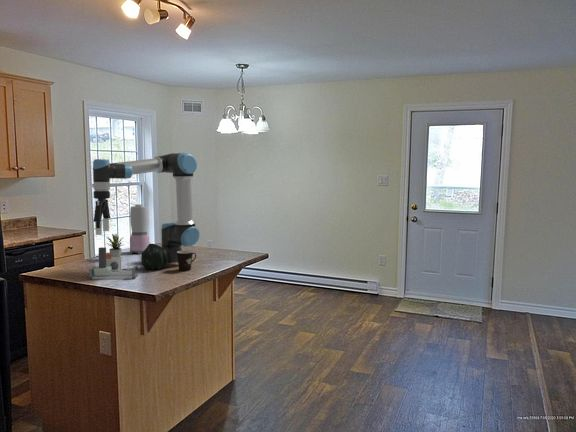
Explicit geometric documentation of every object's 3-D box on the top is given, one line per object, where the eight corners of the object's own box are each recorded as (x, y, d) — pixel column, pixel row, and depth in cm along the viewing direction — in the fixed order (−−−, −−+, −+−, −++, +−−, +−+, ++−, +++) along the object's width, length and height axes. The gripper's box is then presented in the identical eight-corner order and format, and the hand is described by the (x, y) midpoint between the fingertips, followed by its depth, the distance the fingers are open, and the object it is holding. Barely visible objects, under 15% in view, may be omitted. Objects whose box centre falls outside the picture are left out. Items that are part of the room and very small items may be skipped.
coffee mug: (179, 272, 238) (178, 253, 237) (175, 268, 246) (175, 251, 245) (200, 270, 244) (200, 252, 243) (195, 267, 251) (195, 249, 250)
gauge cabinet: (121, 271, 236) (121, 256, 235) (118, 274, 230) (118, 259, 229) (103, 271, 235) (103, 257, 234) (100, 274, 228) (99, 259, 228)
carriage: (111, 272, 226) (111, 246, 224) (108, 275, 220) (108, 248, 218) (97, 272, 225) (96, 246, 223) (93, 275, 219) (93, 248, 217)
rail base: (137, 275, 228) (137, 266, 228) (135, 278, 221) (135, 268, 221) (93, 276, 225) (93, 266, 224) (88, 279, 218) (88, 269, 218)
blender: (142, 254, 285) (142, 205, 282) (125, 253, 288) (125, 204, 285) (155, 250, 300) (155, 204, 297) (139, 249, 303) (138, 203, 300)
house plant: (98, 258, 271) (97, 231, 270) (120, 255, 280) (120, 230, 279) (106, 261, 261) (106, 234, 259) (129, 259, 270) (129, 232, 268)
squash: (177, 257, 251) (161, 237, 251) (165, 263, 236) (147, 242, 237) (160, 272, 254) (144, 252, 255) (147, 279, 240) (130, 257, 240)
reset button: (112, 260, 234) (112, 253, 233) (110, 261, 230) (110, 254, 229) (104, 260, 233) (104, 253, 233) (102, 261, 229) (102, 254, 229)
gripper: (100, 189, 230) (101, 229, 233) (86, 191, 206) (87, 236, 208) (115, 189, 232) (116, 229, 234) (102, 191, 207) (103, 236, 209)
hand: (102, 233), depth 221 cm, fingers open, 13 cm apart
